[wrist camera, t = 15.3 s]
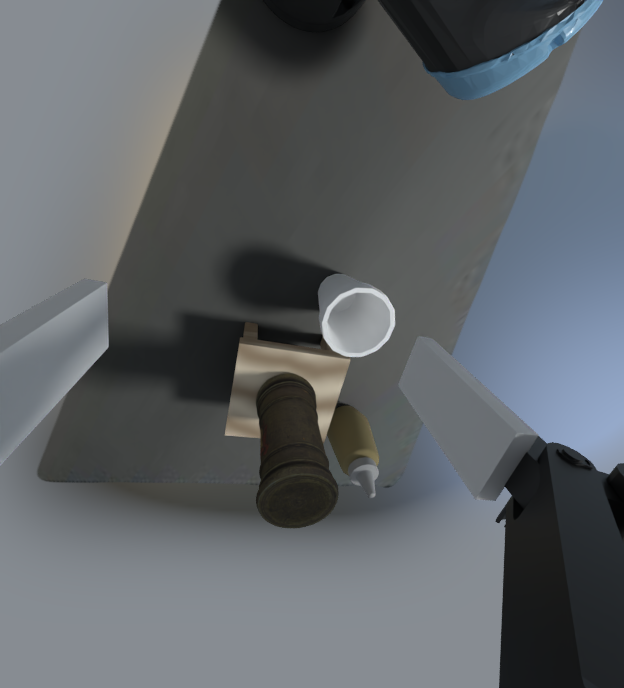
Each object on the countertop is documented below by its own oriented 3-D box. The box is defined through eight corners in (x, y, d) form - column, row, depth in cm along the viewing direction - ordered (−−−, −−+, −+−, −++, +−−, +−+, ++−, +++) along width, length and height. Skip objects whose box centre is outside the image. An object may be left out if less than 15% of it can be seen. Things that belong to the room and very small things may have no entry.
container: (290, 361, 46) (306, 455, 30) (326, 399, 50) (357, 501, 34) (242, 396, 48) (233, 504, 32) (281, 431, 52) (290, 543, 36)
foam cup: (319, 328, 55) (335, 367, 43) (299, 278, 50) (310, 306, 39) (372, 306, 54) (402, 340, 43) (356, 254, 50) (385, 275, 39)
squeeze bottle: (366, 426, 66) (400, 505, 50) (328, 437, 66) (349, 519, 50) (360, 395, 62) (395, 468, 46) (319, 406, 62) (340, 484, 46)
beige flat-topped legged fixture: (242, 318, 52) (239, 343, 44) (337, 334, 56) (350, 359, 48) (229, 400, 58) (224, 435, 50) (315, 409, 62) (323, 443, 54)
